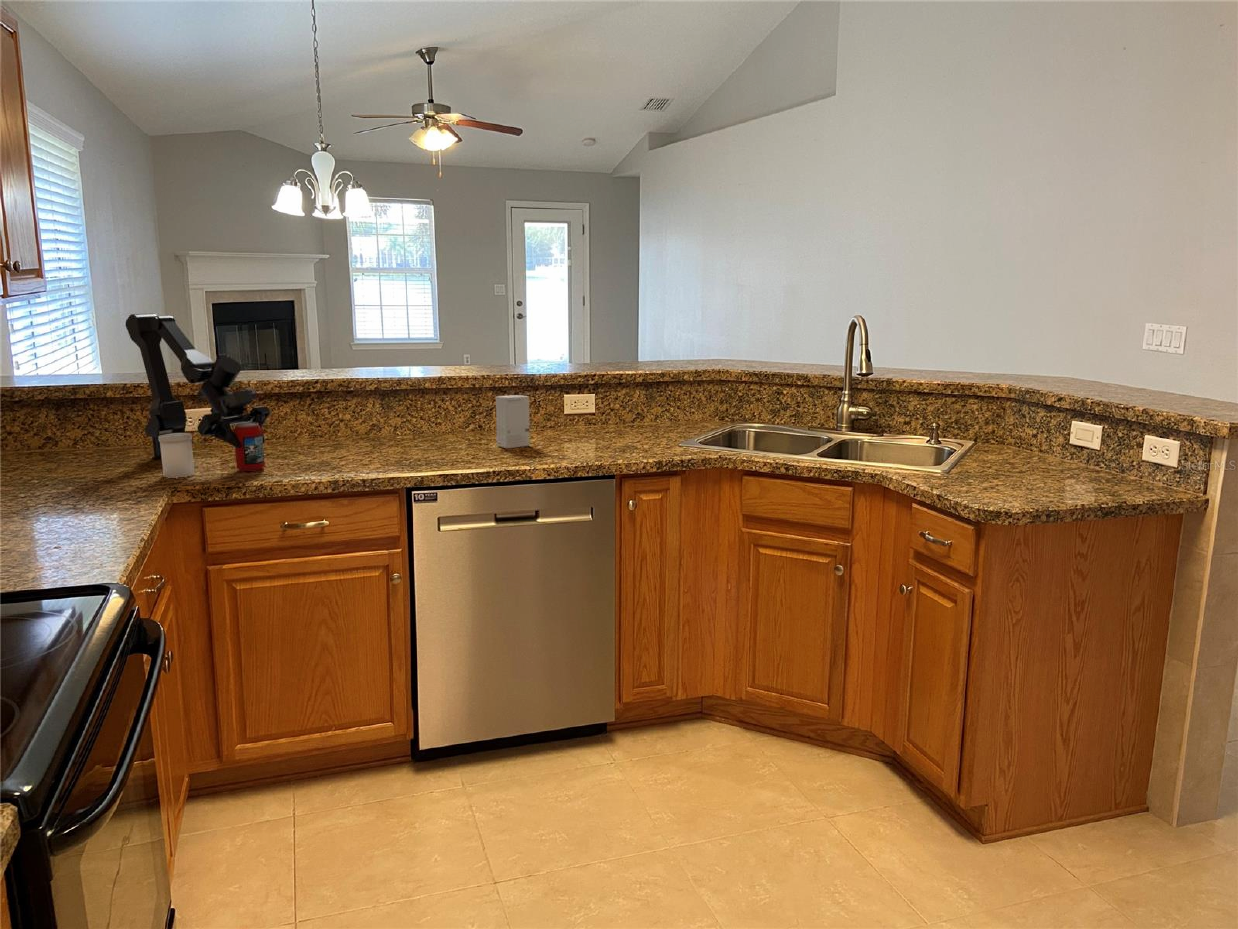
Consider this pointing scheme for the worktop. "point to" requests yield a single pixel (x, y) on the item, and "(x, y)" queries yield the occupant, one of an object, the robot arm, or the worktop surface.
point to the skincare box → (512, 421)
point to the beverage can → (249, 446)
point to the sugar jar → (176, 455)
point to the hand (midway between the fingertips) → (252, 445)
